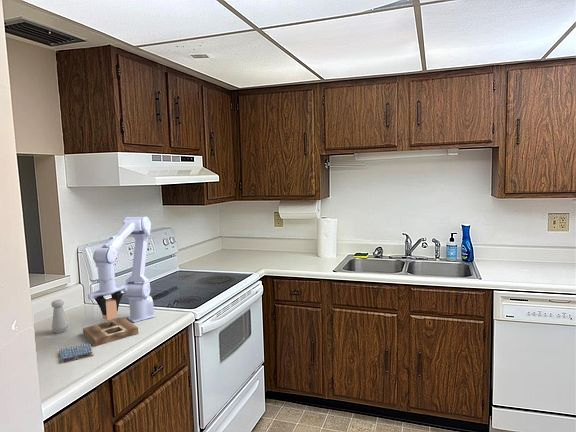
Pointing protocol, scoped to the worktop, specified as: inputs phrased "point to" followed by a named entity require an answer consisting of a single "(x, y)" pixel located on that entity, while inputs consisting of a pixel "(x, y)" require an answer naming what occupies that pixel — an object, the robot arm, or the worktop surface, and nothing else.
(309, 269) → the worktop surface
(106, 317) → the pin
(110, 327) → the wooden peg board
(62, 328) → the salt shaker
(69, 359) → the woven mat
